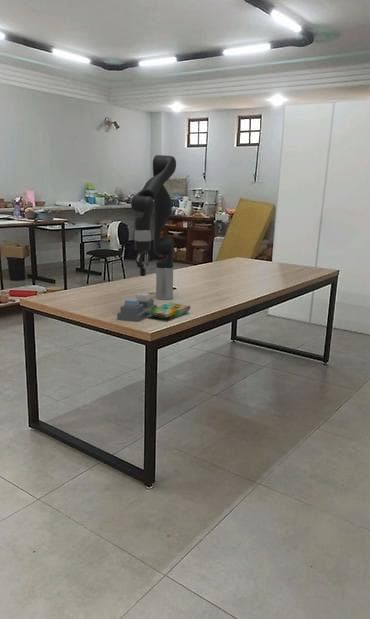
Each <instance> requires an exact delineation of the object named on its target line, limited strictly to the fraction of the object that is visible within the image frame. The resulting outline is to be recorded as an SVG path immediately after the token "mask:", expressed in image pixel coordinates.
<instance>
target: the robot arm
mask: <svg viewBox="0 0 370 619" xmlns="http://www.w3.org/2000/svg"><path fill="white" fill-rule="evenodd" d="M176 168H177V161H176V158H175V156H172V155H163V154H161V155H160V154H156V155H155V156H154V157H153V160H152V176H153V177H151V178H149V179H148V180H147V181H146V182H145V183H144V184H145V185H144V186H143V187H142V189H140V190H139V192H137V193H136V194H135V195H133V197H132V199H131V202H130V207H131V209H132V210H133V211H134V212H136V213H137V212H140V213H142V212H143V215H142V216H138V217H136V218H134V219H135V220H134V250H135V251H137V257H135V263H136V266H137V268H139V270H140V271H139V274H140V275H139V276H140V277H145V276H147V273H146V272H147V271H146V270H147V267H148V266H149V261H150V258H151V255H150V254H149V251H151V249H152V248H151V247H152V245H151V242H152V238H151V237H152V235H151V220H152V214H153V215H154V216H153V218H154V219H153V220H154V223H153V224H154V225H153V226H154V228H153V233H154V234H153V252H154V254H155V255H158V256H159V255H160V256H161V255H162V256H164V255H167V256H166V257H165V258H163V259H161V260H157V262H156V263H155V271H156V272H155V277H156V278H155V280H156V282H155V285H156V286H155V292H156V293H155V298H156V299H158V300H163V301H164V300H165V301H166V300H172V299H173V298H174V252H175V250H174V249H175V241H174V238H173V237H160V236H161V234H162V233H161V232H162V231H163V229H164V226H165V225H166V224H167V222H168V221H169V219H170V218H171V216H172V212H173V211H172V209H173V208H172V207H173V206H172V204H173V203H172V198H171V196H170V194H169V192H168V190H167V188H166V187H165V183H166V182H167V181H169V179H170V178H171V177H172V176H173V174H174V173H175V171H176Z"/></svg>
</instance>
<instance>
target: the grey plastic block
mask: <svg viewBox="0 0 370 619" xmlns="http://www.w3.org/2000/svg"><path fill="white" fill-rule="evenodd" d="M155 307H158V305H157V304H154V298H150V300H148V301H146V302H145V301H139V306H137V307H135V308H133V307H125V304H123V305H120V309H119V310H120V311H118V312H117V313H116V320H117V321H128V322H138V323H140V322H141V321H143V320H145V319H146V318H148V317H149V316H152V315H151V314H147V313H146V310H149V309H152V308H155Z"/></svg>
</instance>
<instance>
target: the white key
mask: <svg viewBox="0 0 370 619" xmlns="http://www.w3.org/2000/svg"><path fill="white" fill-rule="evenodd" d="M150 296H151V295H150V293H145V292H139V293H137V294H135V299H139V301H145V302H146V301H148V300H150V299H151V298H150Z"/></svg>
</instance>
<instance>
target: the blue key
mask: <svg viewBox="0 0 370 619" xmlns="http://www.w3.org/2000/svg"><path fill="white" fill-rule="evenodd" d="M124 305H125V307H133V308H135V307H137V306H139V299H136V298H132V297H128V298H127V299H124Z"/></svg>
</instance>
